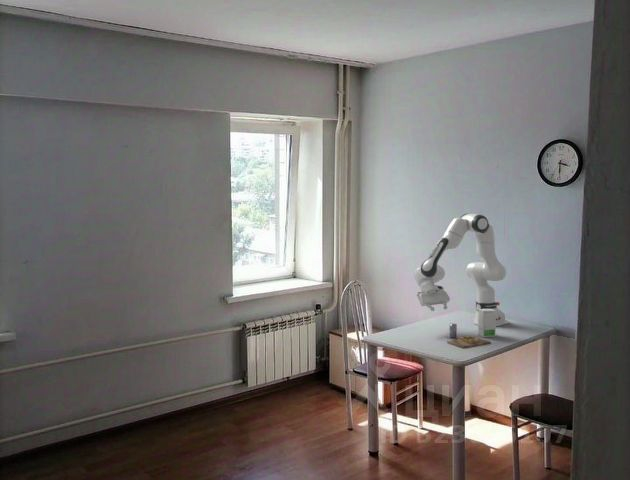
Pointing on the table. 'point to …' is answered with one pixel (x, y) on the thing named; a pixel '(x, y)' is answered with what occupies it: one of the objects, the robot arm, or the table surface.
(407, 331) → the table surface
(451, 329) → the cylinder
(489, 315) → the skincare box
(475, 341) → the collar board
